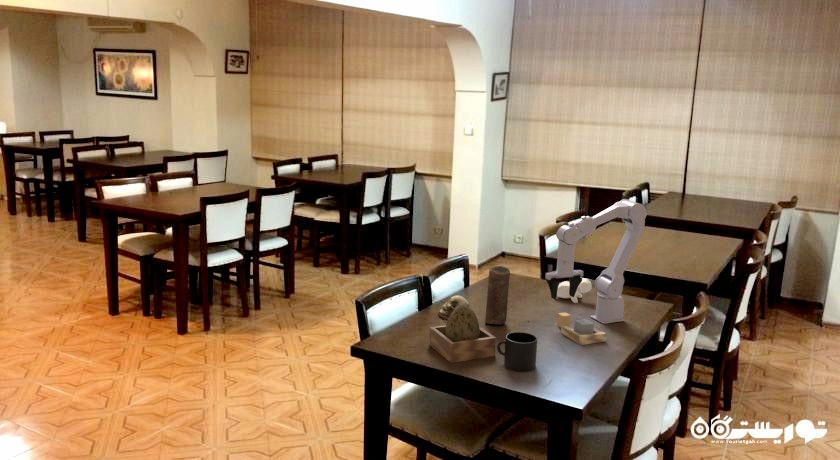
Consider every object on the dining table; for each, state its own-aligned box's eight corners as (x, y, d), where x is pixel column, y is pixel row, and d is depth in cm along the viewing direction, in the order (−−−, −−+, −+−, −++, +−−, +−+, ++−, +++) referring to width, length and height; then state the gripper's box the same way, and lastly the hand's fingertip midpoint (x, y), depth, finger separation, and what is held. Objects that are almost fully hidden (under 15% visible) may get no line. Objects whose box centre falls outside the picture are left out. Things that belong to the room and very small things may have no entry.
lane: (583, 329, 244) (584, 322, 243) (605, 341, 233) (606, 333, 233) (560, 333, 240) (561, 325, 239) (581, 345, 229) (582, 336, 229)
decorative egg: (468, 359, 215) (470, 313, 212) (438, 351, 220) (439, 306, 217) (484, 348, 224) (486, 304, 220) (455, 341, 229) (456, 297, 226)
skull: (433, 316, 250) (439, 290, 254) (439, 328, 258) (445, 303, 263) (465, 320, 246) (471, 294, 250) (471, 332, 254) (476, 306, 259)
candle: (508, 321, 249) (511, 267, 245) (504, 328, 243) (507, 272, 238) (487, 318, 252) (490, 264, 248) (482, 325, 245) (485, 270, 241)
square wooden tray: (471, 338, 232) (472, 321, 231) (495, 355, 218) (496, 337, 217) (429, 344, 226) (429, 327, 224) (450, 362, 212) (451, 344, 211)
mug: (500, 356, 218) (502, 328, 216) (538, 362, 214) (540, 334, 212) (491, 367, 210) (493, 338, 208) (531, 374, 205) (533, 345, 203)
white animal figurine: (555, 307, 276) (592, 299, 269) (549, 287, 276) (585, 278, 269) (561, 301, 284) (597, 294, 277) (555, 281, 284) (591, 273, 276)
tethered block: (566, 324, 249) (567, 309, 247) (592, 338, 235) (594, 323, 234) (555, 325, 247) (556, 310, 246) (581, 340, 233) (583, 324, 232)
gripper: (576, 255, 252) (573, 292, 254) (541, 258, 246) (539, 295, 249) (588, 260, 245) (584, 297, 248) (553, 263, 240) (550, 301, 243)
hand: (562, 297), depth 248 cm, fingers open, 7 cm apart
